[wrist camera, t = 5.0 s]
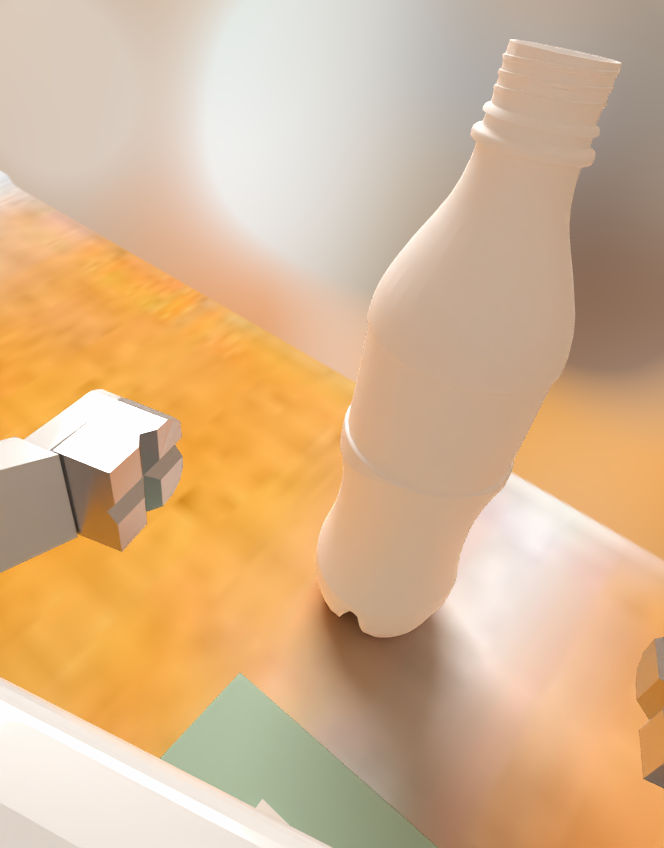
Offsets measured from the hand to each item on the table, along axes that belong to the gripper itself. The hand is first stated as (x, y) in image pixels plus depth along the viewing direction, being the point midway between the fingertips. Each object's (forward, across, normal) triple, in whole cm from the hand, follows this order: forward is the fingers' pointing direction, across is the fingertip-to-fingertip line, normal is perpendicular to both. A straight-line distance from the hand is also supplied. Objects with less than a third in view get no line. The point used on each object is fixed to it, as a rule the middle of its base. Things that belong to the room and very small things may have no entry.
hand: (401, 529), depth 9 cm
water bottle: (+12, +1, +19) cm, 23 cm away
